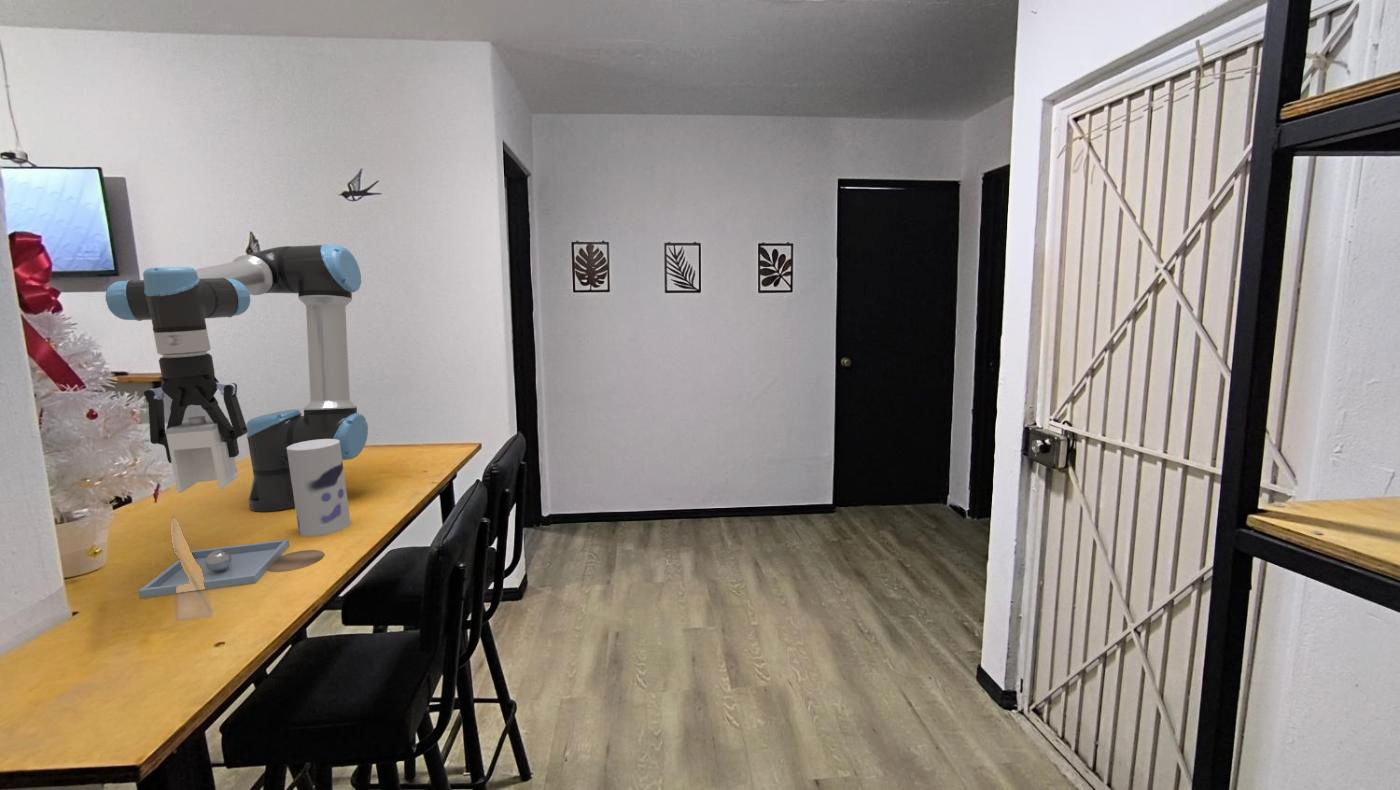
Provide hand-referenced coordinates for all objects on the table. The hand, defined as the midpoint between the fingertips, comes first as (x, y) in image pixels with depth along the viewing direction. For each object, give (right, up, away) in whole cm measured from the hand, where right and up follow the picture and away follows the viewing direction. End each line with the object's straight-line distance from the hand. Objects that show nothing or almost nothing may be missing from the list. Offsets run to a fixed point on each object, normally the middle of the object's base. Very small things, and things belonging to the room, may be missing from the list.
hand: (207, 476), depth 118 cm
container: (+8, -15, +23) cm, 29 cm away
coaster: (+13, -18, +6) cm, 23 cm away
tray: (+1, -19, +3) cm, 19 cm away
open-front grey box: (0, -2, 0) cm, 2 cm away
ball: (+1, -18, +2) cm, 19 cm away
